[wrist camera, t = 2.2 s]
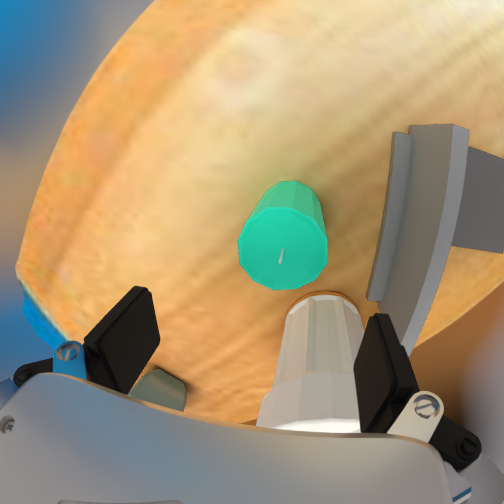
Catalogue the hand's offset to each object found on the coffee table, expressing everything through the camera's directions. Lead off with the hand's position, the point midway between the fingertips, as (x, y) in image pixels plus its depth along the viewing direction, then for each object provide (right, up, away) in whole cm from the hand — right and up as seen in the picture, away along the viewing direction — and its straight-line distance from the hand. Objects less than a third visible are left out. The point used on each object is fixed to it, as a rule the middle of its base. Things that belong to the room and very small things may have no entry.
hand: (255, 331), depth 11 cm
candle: (+4, +8, +16) cm, 18 cm away
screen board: (+16, +6, +14) cm, 22 cm away
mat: (+25, +9, +11) cm, 29 cm away
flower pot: (-15, -19, +32) cm, 40 cm away
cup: (+8, -5, +21) cm, 23 cm away
